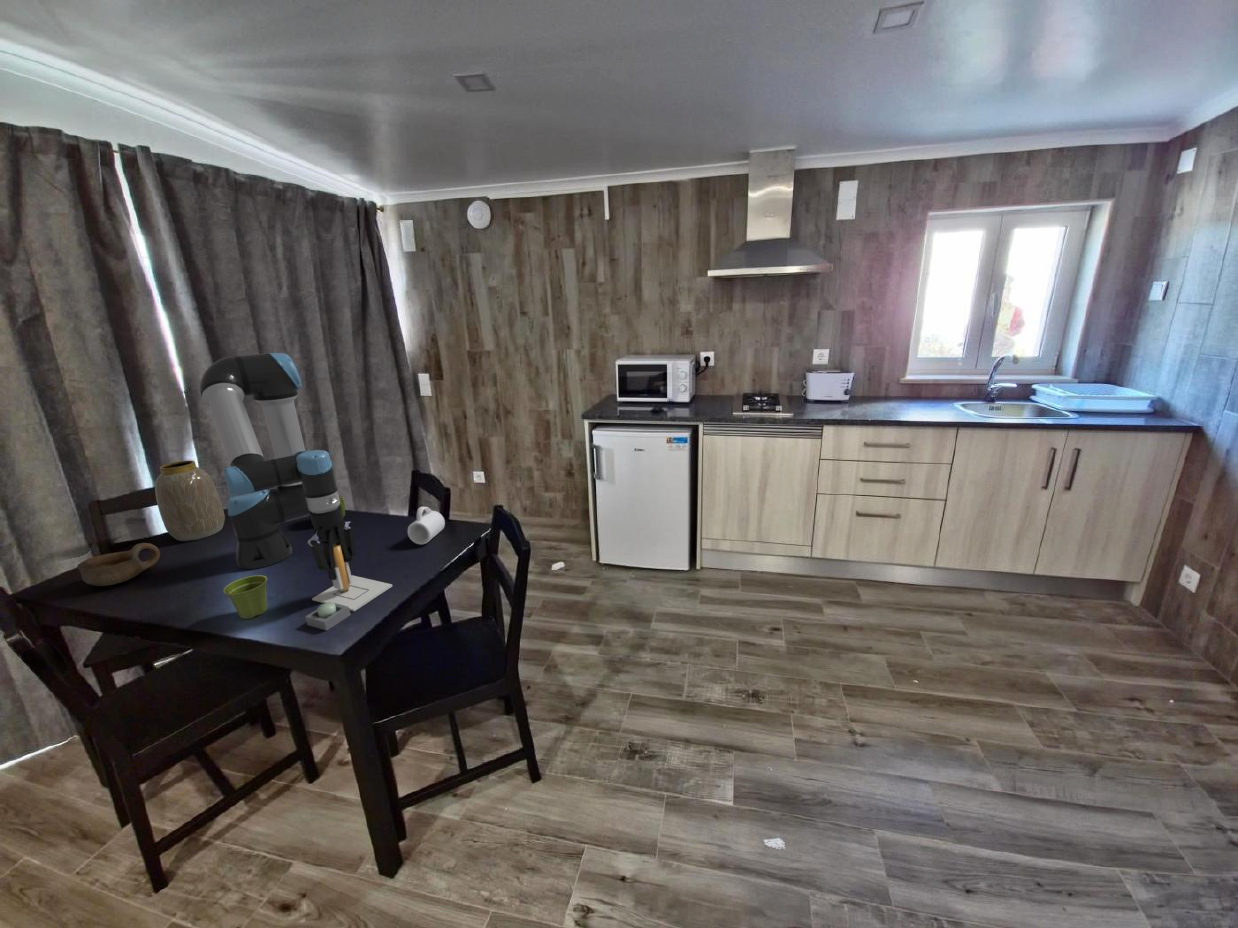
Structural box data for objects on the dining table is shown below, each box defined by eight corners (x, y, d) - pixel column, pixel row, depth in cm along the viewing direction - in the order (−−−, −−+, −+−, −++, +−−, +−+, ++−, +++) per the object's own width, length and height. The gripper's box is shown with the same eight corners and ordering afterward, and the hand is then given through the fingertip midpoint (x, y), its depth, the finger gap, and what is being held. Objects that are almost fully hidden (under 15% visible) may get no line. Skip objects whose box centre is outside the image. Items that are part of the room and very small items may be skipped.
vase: (201, 523, 194) (179, 457, 186) (240, 524, 192) (220, 457, 184) (156, 543, 178) (131, 472, 170) (198, 544, 176) (174, 472, 167)
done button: (315, 618, 127) (313, 609, 126) (329, 609, 131) (327, 600, 130) (326, 621, 126) (324, 612, 125) (340, 612, 129) (338, 603, 128)
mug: (446, 531, 177) (441, 500, 174) (431, 545, 168) (426, 512, 164) (425, 531, 179) (420, 500, 175) (409, 544, 169) (403, 511, 165)
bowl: (140, 556, 165) (136, 531, 162) (171, 571, 162) (168, 546, 159) (70, 584, 149) (64, 556, 145) (104, 601, 146) (99, 573, 143)
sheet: (312, 600, 138) (312, 598, 138) (352, 576, 149) (351, 575, 149) (354, 611, 132) (353, 609, 132) (392, 586, 143) (392, 584, 143)
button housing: (307, 624, 127) (305, 616, 126) (331, 609, 133) (329, 601, 132) (326, 630, 124) (324, 622, 124) (350, 614, 130) (348, 606, 130)
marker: (336, 592, 140) (326, 547, 136) (345, 587, 143) (335, 543, 138) (343, 594, 139) (333, 549, 135) (352, 589, 142) (342, 545, 137)
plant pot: (246, 603, 138) (238, 576, 135) (282, 601, 138) (274, 573, 136) (224, 624, 129) (214, 595, 126) (262, 621, 129) (253, 592, 127)
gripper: (307, 521, 125) (328, 602, 132) (359, 499, 138) (375, 574, 146) (287, 517, 128) (308, 597, 135) (340, 496, 141) (357, 569, 148)
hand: (343, 585), depth 140 cm, fingers closed on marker, 2 cm apart
